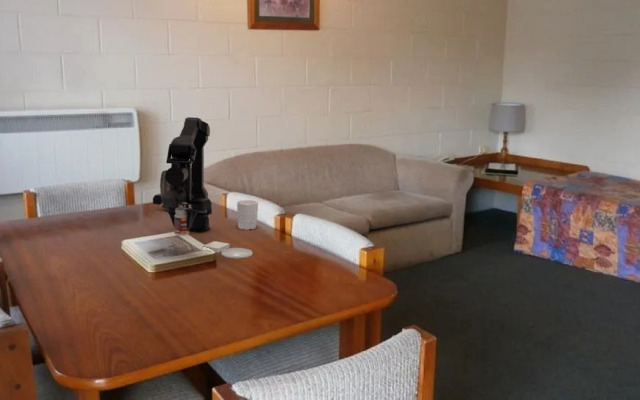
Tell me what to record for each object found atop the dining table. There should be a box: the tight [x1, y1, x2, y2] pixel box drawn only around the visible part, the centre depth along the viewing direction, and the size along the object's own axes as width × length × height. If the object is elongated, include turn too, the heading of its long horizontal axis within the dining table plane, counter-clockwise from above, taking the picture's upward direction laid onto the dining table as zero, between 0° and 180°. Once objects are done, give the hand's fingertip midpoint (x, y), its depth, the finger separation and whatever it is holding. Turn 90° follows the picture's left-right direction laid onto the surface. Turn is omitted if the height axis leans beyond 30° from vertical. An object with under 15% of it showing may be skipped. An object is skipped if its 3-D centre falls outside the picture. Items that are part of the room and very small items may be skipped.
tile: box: [202, 240, 230, 253], centre depth 202 cm, size 6×2×7 cm
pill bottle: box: [173, 206, 190, 236], centre depth 195 cm, size 5×5×8 cm
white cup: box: [236, 199, 259, 231], centre depth 230 cm, size 8×8×10 cm
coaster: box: [221, 247, 253, 259], centre depth 197 cm, size 10×10×1 cm
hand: (181, 227), depth 196 cm, fingers closed on pill bottle, 5 cm apart
